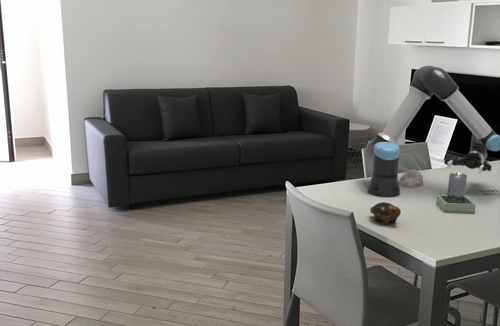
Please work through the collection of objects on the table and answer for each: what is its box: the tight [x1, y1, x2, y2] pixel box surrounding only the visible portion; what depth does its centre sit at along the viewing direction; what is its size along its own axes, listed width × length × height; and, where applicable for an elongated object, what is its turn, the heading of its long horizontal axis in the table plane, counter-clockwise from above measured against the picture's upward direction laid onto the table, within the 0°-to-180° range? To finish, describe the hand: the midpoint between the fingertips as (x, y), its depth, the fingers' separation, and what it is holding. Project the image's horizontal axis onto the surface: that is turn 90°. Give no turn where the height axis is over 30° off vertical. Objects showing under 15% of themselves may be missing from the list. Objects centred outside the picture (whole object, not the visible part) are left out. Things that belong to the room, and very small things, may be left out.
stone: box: [398, 169, 424, 189], centre depth 271 cm, size 17×10×10 cm
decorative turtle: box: [369, 201, 402, 226], centre depth 214 cm, size 10×15×8 cm, turn 36°
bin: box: [435, 194, 476, 215], centre depth 232 cm, size 13×13×4 cm
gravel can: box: [447, 171, 468, 204], centre depth 231 cm, size 7×7×16 cm
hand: (463, 168), depth 239 cm, fingers open, 13 cm apart
